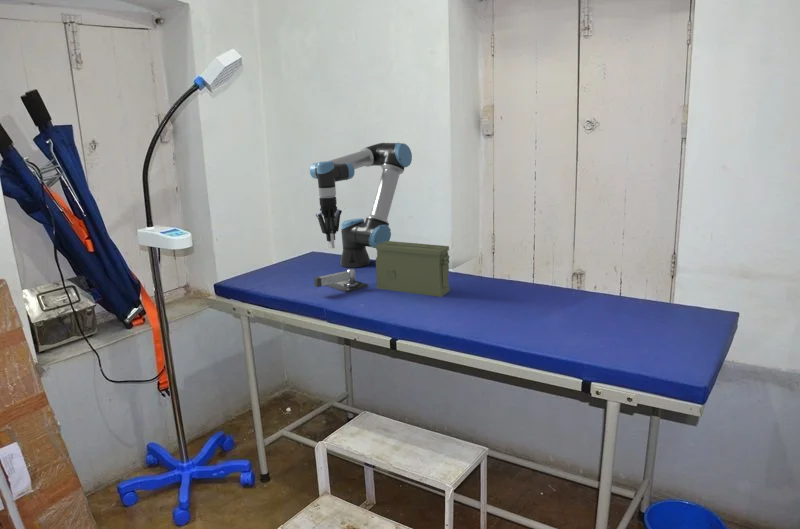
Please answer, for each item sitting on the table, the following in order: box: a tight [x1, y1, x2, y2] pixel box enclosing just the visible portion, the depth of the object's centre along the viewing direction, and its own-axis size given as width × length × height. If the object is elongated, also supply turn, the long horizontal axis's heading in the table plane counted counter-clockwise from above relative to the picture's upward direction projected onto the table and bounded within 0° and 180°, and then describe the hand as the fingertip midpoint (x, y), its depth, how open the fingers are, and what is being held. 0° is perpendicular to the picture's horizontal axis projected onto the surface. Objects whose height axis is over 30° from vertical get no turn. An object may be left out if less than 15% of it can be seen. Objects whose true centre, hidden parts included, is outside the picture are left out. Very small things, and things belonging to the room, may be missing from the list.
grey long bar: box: [313, 268, 357, 288], centre depth 263 cm, size 19×3×6 cm, turn 123°
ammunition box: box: [375, 240, 451, 298], centre depth 260 cm, size 10×33×20 cm, turn 60°
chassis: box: [324, 280, 368, 294], centre depth 274 cm, size 12×22×2 cm, turn 41°
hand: (331, 247), depth 275 cm, fingers closed
